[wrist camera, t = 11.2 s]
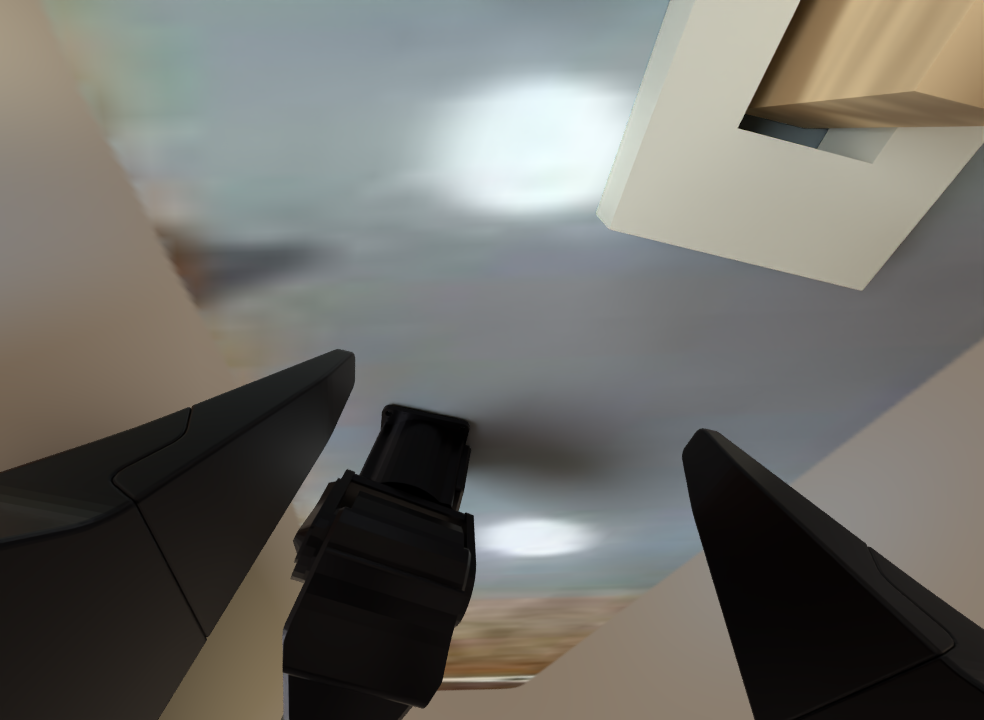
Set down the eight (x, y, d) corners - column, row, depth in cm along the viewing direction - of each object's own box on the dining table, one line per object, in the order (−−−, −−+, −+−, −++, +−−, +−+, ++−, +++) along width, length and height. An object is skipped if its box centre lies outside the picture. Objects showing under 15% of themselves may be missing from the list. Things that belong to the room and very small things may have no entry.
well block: (595, 213, 19) (608, 229, 16) (799, -372, 10) (911, -574, 7) (810, 266, 19) (862, 290, 16) (1173, -244, 11) (1415, -385, 8)
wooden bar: (730, 110, 16) (914, 91, 9) (804, -50, 13) (1167, -285, 6) (804, 128, 16) (1050, 125, 9) (891, -27, 14) (1355, -226, 6)
